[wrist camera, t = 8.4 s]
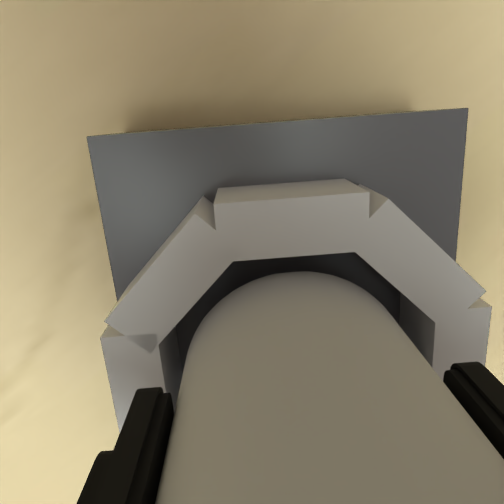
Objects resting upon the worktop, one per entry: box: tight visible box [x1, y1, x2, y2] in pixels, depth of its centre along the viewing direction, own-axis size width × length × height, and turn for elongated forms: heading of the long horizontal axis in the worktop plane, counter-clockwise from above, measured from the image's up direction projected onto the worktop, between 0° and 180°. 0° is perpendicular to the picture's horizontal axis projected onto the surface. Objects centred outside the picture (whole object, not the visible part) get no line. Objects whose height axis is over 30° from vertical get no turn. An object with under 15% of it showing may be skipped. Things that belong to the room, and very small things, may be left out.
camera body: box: [87, 108, 492, 432], centre depth 15 cm, size 18×11×8 cm, turn 4°
